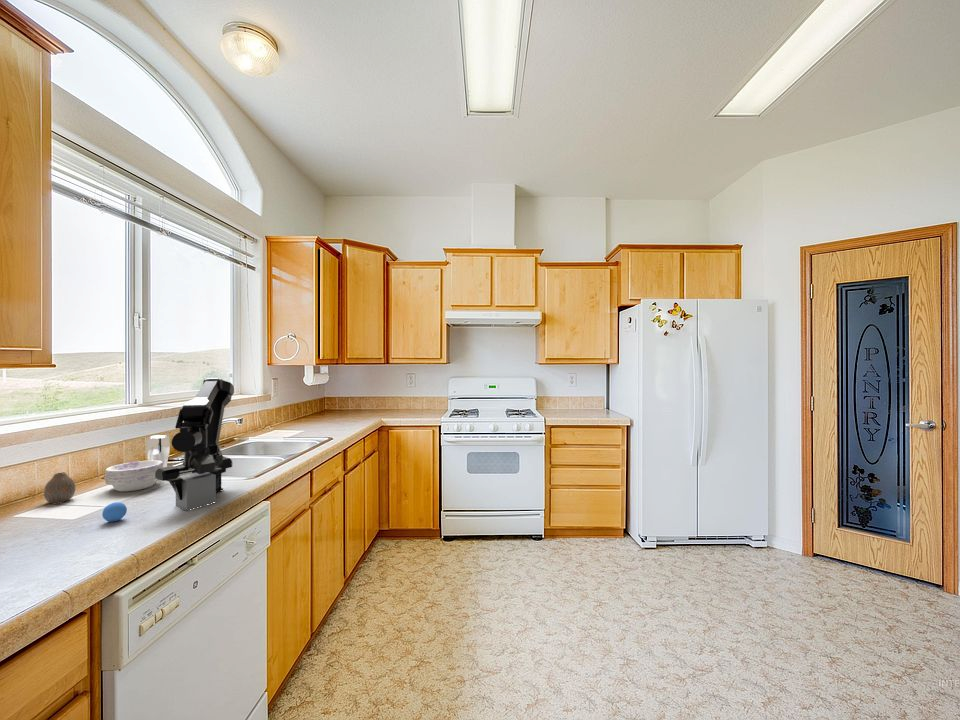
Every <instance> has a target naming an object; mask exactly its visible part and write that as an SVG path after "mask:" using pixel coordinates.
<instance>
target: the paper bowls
mask: <svg viewBox="0 0 960 720" xmlns="http://www.w3.org/2000/svg"><path fill="white" fill-rule="evenodd" d="M158 468H163V462H162V461H157V460H150V461H148V460H140V461H131V462H124V463H121V464H115V465H111V466H109V467H107V468H106V469H105V471H104V472H105V473H104V474H105V477H104V479H105V482H104V483H105V485H108V486H112V487H113V489H114V490H115V491H118V492H133V491H140V490H144V489H148V488H150V487H152V486H153V485H155V483H156V482H157V480H158V479H157V478H155V473H156V471H157V469H158Z"/></svg>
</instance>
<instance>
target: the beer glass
mask: <svg viewBox="0 0 960 720" xmlns="http://www.w3.org/2000/svg"><path fill="white" fill-rule="evenodd" d="M170 444H171V441H170V435H169V434H157V435H150V436H148V437H146V458H147V461H150V460H157V461H162V462H163V467H168V460H169V456H170V449H171V447H170V446H171V445H170Z"/></svg>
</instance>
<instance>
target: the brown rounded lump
mask: <svg viewBox="0 0 960 720" xmlns="http://www.w3.org/2000/svg"><path fill="white" fill-rule="evenodd" d="M75 493H76V483H75V481H74V479H72V478H71V477H70V476H69V475H68V474H67V473H66V472H56V473H54V474H53V476H52V477H51V478H50V479H49V480H48V482H46V484H45V487H44V489H43V497H44V499H45V501H46V502H47V503H49V504H52V503H56V504H61V503H60V502H62V503H65V502H64V501H66V502H69V500H71V499H72V498H73V497H74V495H75Z"/></svg>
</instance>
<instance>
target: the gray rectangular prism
mask: <svg viewBox="0 0 960 720" xmlns="http://www.w3.org/2000/svg"><path fill="white" fill-rule="evenodd" d="M180 478H182V479H183V480H182V483H181V485H182V500H179V499H178V497H177V495H176V494H175V507H177V506H178V508H179V507H180V508H179V509H181V508H183V509H182V510H184V509H185V510H184V511H186V510H189V511H191V510H190V509H193V508H197V507H200V506H204V505H207V504H211V503H213V502H217V501H216V500H217V499H216V498H217V497H216V495H217V492H216V475H215V474H212V473H209V472H206V473H204V474H198V473H197V472H196V473H192V472H190V473H186V474H181V475H180ZM211 505H212V504H211ZM204 507H205V506H204ZM200 508H201V507H200ZM197 509H198V508H197ZM193 510H194V509H193Z"/></svg>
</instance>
